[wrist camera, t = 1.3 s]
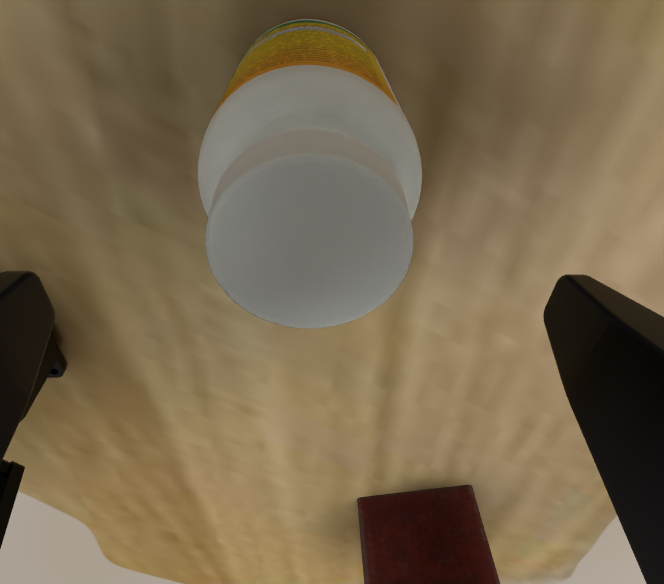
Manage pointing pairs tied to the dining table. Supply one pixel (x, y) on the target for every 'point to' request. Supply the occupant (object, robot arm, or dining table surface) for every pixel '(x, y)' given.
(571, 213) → the dining table surface
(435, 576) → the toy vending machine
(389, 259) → the supplement bottle
